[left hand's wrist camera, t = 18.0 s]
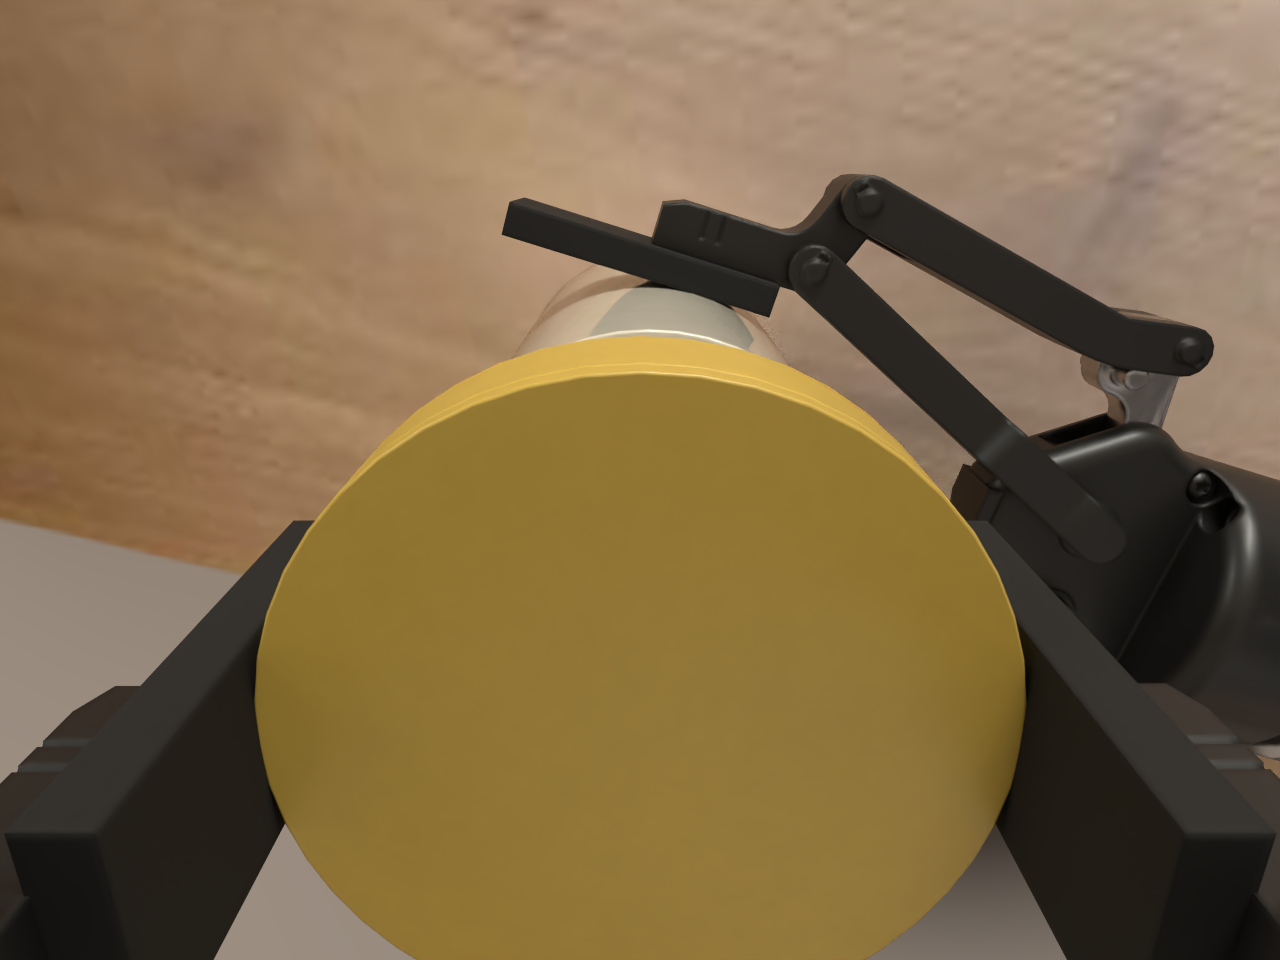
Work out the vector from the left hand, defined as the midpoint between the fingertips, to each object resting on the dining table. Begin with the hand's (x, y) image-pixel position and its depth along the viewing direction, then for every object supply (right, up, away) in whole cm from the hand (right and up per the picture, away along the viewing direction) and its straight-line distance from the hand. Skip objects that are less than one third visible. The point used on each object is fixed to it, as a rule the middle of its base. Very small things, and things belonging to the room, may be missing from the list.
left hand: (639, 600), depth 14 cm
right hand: (-4, +4, +9) cm, 11 cm away
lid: (0, -1, -3) cm, 3 cm away
